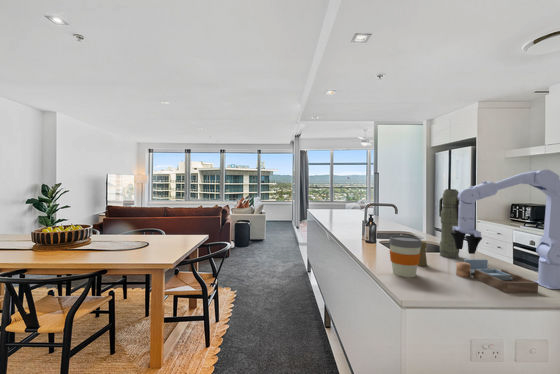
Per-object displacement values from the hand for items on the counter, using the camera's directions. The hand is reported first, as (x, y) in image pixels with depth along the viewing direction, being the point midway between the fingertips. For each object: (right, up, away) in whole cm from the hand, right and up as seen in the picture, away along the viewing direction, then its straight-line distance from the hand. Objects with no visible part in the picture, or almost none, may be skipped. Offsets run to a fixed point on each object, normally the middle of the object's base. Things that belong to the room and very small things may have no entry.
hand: (465, 251), depth 123 cm
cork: (-11, -10, +17) cm, 23 cm away
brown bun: (0, -10, +2) cm, 11 cm away
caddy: (+9, -11, -9) cm, 17 cm away
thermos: (+13, -10, +34) cm, 38 cm away
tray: (+9, -9, 0) cm, 13 cm away
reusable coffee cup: (-24, -10, +2) cm, 26 cm away
